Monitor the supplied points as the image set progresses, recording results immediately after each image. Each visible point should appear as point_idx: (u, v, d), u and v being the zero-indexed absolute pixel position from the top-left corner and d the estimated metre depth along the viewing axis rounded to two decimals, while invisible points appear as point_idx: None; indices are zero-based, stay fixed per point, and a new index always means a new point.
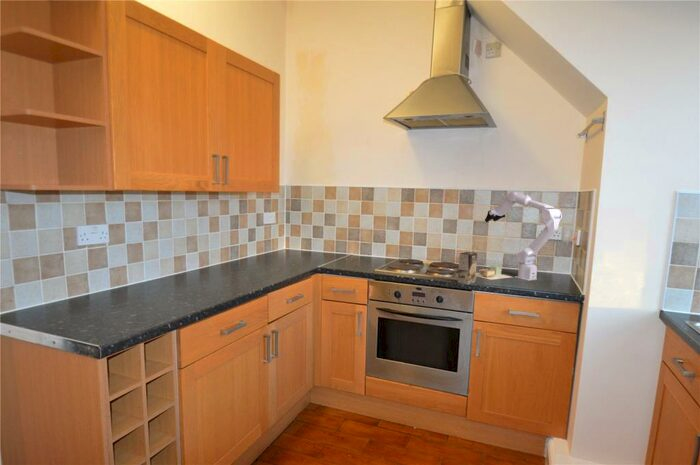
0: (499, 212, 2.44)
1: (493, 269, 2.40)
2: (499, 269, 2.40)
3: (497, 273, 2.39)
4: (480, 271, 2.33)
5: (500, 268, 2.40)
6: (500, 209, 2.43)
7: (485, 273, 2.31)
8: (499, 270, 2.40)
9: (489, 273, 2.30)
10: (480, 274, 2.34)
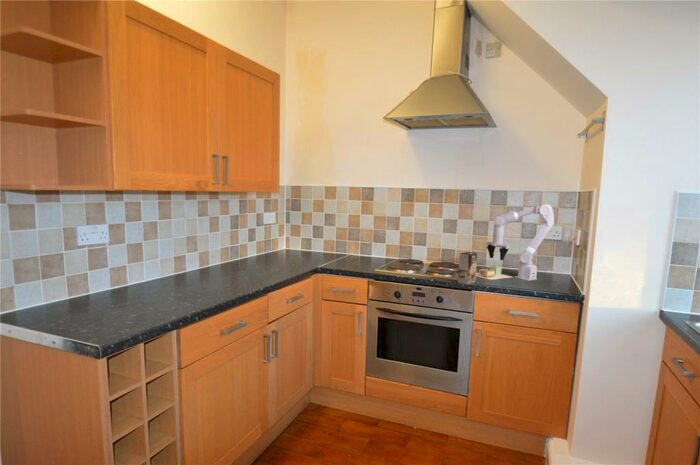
0: (502, 242, 2.38)
1: (493, 269, 2.40)
2: (499, 269, 2.40)
3: (497, 273, 2.39)
4: (480, 271, 2.33)
5: (500, 268, 2.40)
6: (502, 239, 2.37)
7: (485, 273, 2.31)
8: (499, 270, 2.40)
9: (489, 273, 2.30)
10: (480, 274, 2.34)
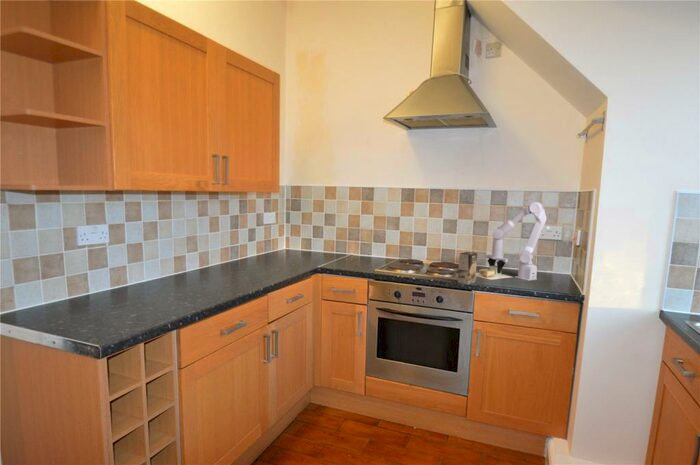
0: (501, 255, 2.39)
1: (493, 269, 2.40)
2: None
3: (497, 273, 2.39)
4: (480, 271, 2.33)
5: None
6: (501, 252, 2.38)
7: (485, 273, 2.31)
8: None
9: (489, 273, 2.30)
10: (480, 274, 2.34)
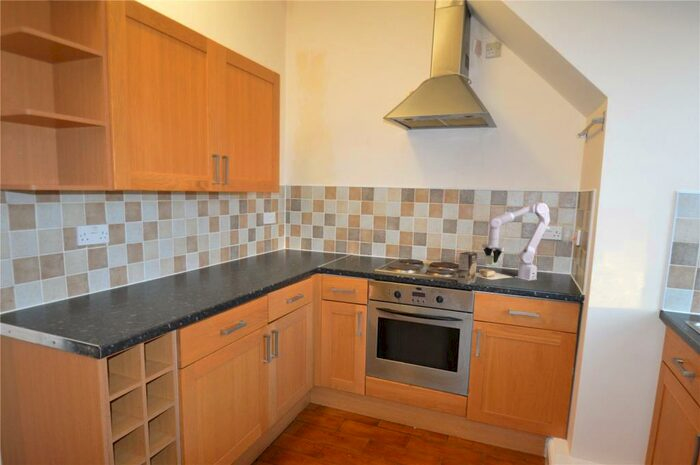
0: None
1: (489, 259, 2.35)
2: None
3: (493, 263, 2.35)
4: (480, 271, 2.33)
5: None
6: (498, 241, 2.33)
7: (485, 273, 2.31)
8: None
9: (489, 273, 2.30)
10: (480, 274, 2.34)
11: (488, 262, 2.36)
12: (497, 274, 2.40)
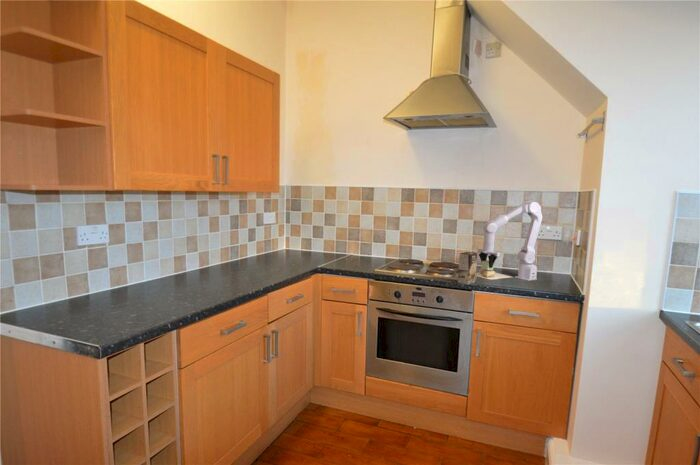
0: (493, 249, 2.31)
1: (485, 264, 2.32)
2: None
3: (489, 268, 2.31)
4: (480, 271, 2.33)
5: None
6: (493, 246, 2.30)
7: (485, 273, 2.31)
8: None
9: (489, 273, 2.30)
10: (480, 274, 2.34)
11: (483, 267, 2.33)
12: (497, 274, 2.40)
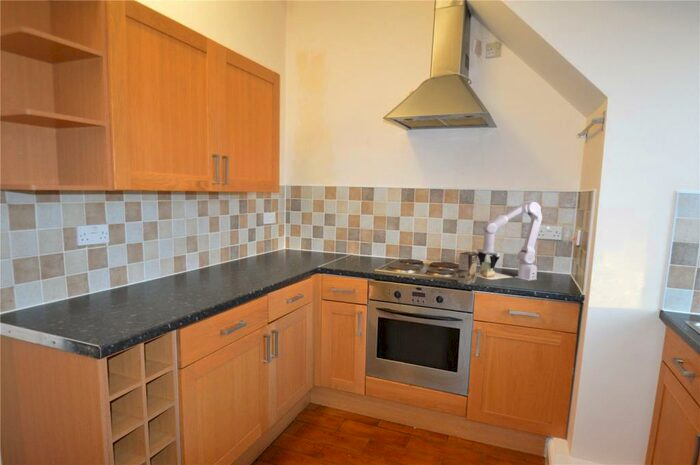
0: (493, 249, 2.31)
1: (485, 265, 2.32)
2: None
3: (489, 270, 2.31)
4: (480, 271, 2.33)
5: None
6: (493, 246, 2.30)
7: (485, 273, 2.31)
8: None
9: (489, 273, 2.30)
10: (480, 274, 2.34)
11: (483, 269, 2.33)
12: (497, 274, 2.40)
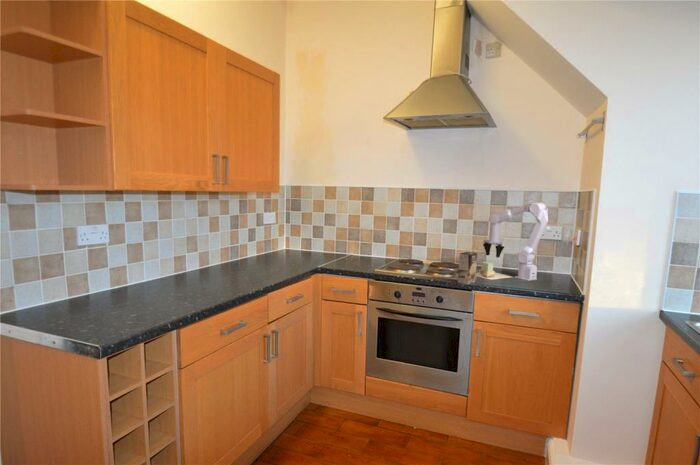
0: (498, 240, 2.44)
1: (485, 265, 2.32)
2: (491, 265, 2.31)
3: (489, 270, 2.31)
4: (480, 271, 2.33)
5: (492, 264, 2.32)
6: (498, 236, 2.43)
7: (485, 273, 2.31)
8: (491, 266, 2.32)
9: (489, 273, 2.30)
10: (480, 274, 2.34)
11: (483, 269, 2.33)
12: (497, 274, 2.40)
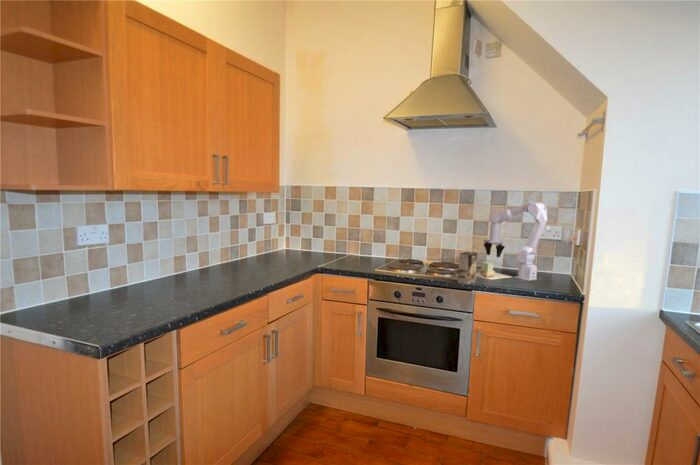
0: (499, 239, 2.45)
1: (485, 265, 2.32)
2: (491, 265, 2.31)
3: (489, 270, 2.31)
4: (480, 271, 2.33)
5: (492, 264, 2.32)
6: (499, 236, 2.44)
7: (485, 273, 2.31)
8: (491, 266, 2.32)
9: (489, 273, 2.30)
10: (480, 274, 2.34)
11: (483, 269, 2.33)
12: (497, 274, 2.40)
